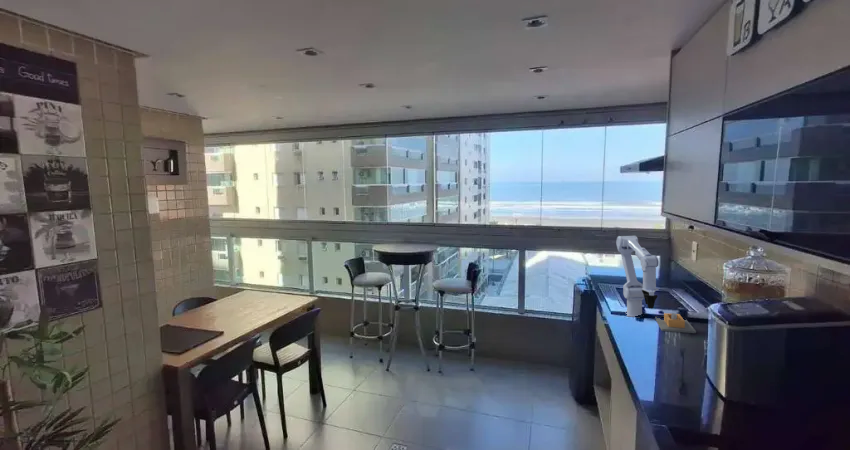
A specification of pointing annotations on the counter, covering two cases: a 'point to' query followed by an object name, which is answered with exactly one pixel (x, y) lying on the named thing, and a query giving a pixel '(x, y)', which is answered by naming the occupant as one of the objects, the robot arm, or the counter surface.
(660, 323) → the keeper plate
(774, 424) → the counter surface
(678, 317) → the orange rectangular frame
